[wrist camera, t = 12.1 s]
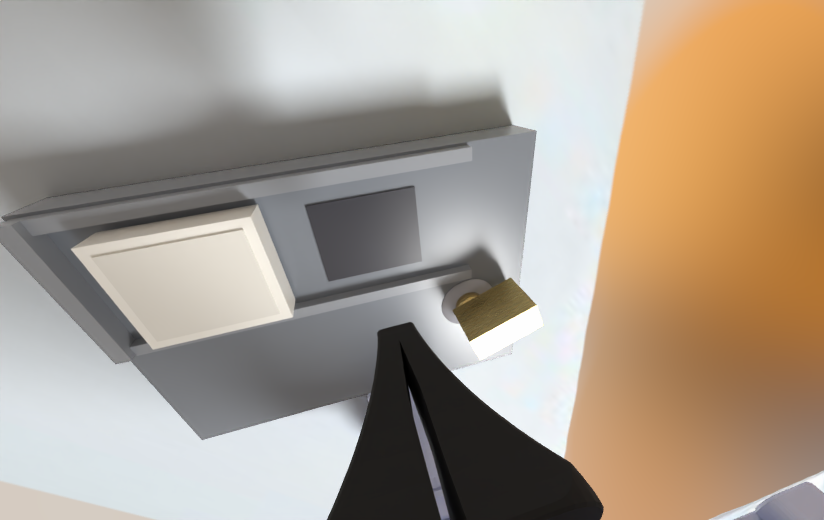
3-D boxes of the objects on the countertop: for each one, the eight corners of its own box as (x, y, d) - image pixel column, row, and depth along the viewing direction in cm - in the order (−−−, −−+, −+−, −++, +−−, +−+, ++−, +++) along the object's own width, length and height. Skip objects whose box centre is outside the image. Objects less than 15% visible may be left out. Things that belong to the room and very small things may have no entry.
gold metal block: (458, 320, 22) (480, 359, 19) (448, 303, 21) (469, 342, 18) (512, 290, 22) (543, 325, 19) (505, 271, 21) (536, 305, 18)
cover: (295, 299, 18) (292, 318, 16) (166, 328, 17) (151, 351, 15) (257, 204, 15) (250, 217, 13) (95, 232, 14) (68, 250, 12)
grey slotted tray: (498, 333, 28) (517, 362, 25) (212, 409, 24) (197, 453, 21) (512, 125, 18) (547, 133, 16) (47, 197, 15) (-22, 226, 12)
